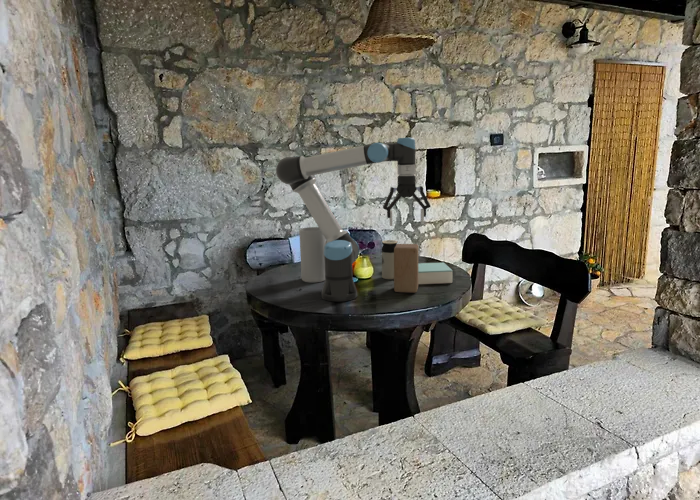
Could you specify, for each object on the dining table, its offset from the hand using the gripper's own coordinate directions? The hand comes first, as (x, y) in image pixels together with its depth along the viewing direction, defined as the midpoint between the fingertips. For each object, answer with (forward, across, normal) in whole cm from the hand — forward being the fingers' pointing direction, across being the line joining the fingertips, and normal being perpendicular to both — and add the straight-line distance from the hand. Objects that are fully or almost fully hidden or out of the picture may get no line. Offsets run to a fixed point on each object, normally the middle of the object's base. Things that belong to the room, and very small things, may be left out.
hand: (406, 225), depth 202 cm
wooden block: (+29, 0, 0) cm, 29 cm away
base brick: (+29, +15, +16) cm, 36 cm away
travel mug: (+29, -4, +22) cm, 37 cm away
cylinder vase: (+29, -41, +24) cm, 56 cm away
